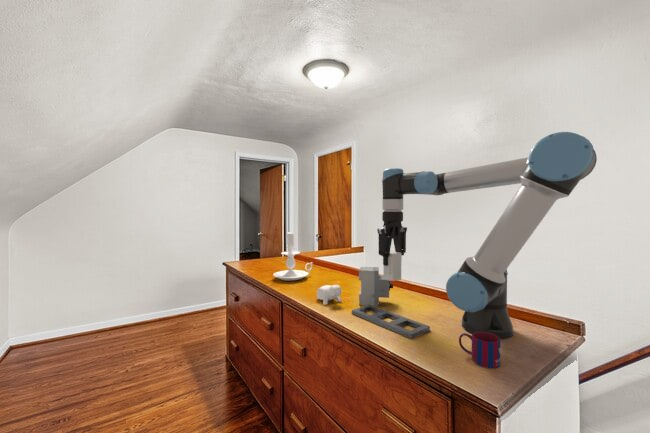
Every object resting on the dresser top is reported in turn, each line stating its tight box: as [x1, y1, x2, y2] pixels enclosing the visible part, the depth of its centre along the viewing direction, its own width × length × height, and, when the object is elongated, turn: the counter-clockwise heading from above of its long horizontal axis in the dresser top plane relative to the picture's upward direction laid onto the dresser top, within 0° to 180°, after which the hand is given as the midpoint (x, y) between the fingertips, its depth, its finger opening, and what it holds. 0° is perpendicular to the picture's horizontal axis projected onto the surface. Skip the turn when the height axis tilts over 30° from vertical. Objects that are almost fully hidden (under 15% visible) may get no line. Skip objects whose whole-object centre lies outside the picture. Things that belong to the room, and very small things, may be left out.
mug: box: [458, 332, 502, 369], centre depth 79 cm, size 7×10×7 cm
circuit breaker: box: [358, 266, 394, 307], centre depth 127 cm, size 8×14×15 cm, turn 78°
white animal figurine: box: [316, 284, 342, 306], centre depth 129 cm, size 9×8×15 cm
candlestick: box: [273, 231, 314, 282], centre depth 172 cm, size 21×25×28 cm
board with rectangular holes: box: [351, 305, 431, 340], centre depth 106 cm, size 28×10×2 cm, turn 37°
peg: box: [382, 250, 402, 282], centre depth 109 cm, size 5×5×10 cm
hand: (392, 273), depth 109 cm, fingers closed on peg, 5 cm apart
